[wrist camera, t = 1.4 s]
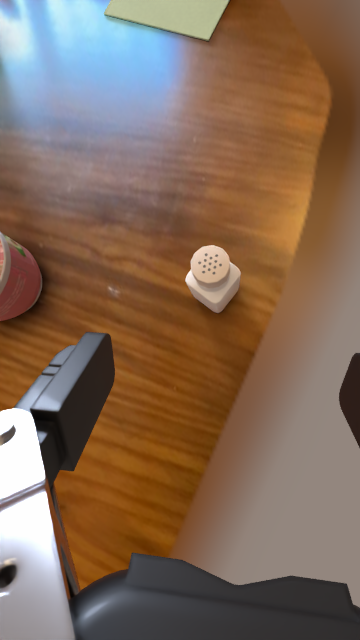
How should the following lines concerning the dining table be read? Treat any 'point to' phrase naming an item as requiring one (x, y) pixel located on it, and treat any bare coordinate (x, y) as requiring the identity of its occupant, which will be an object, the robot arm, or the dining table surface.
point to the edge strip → (172, 15)
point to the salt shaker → (213, 278)
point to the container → (17, 279)
